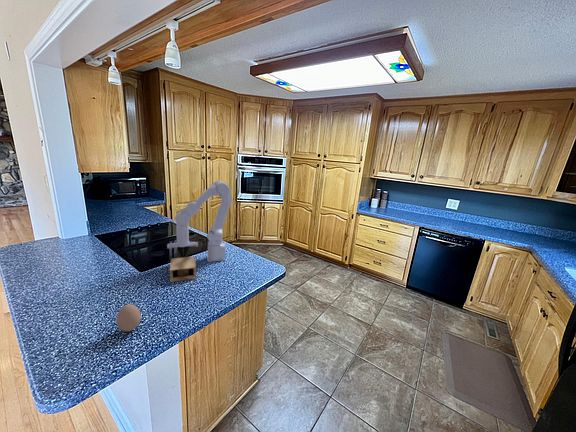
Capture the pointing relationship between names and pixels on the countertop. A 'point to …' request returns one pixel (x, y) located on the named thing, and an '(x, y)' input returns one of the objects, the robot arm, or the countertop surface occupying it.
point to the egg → (128, 317)
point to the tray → (182, 271)
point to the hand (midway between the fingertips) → (183, 259)
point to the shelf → (182, 267)
